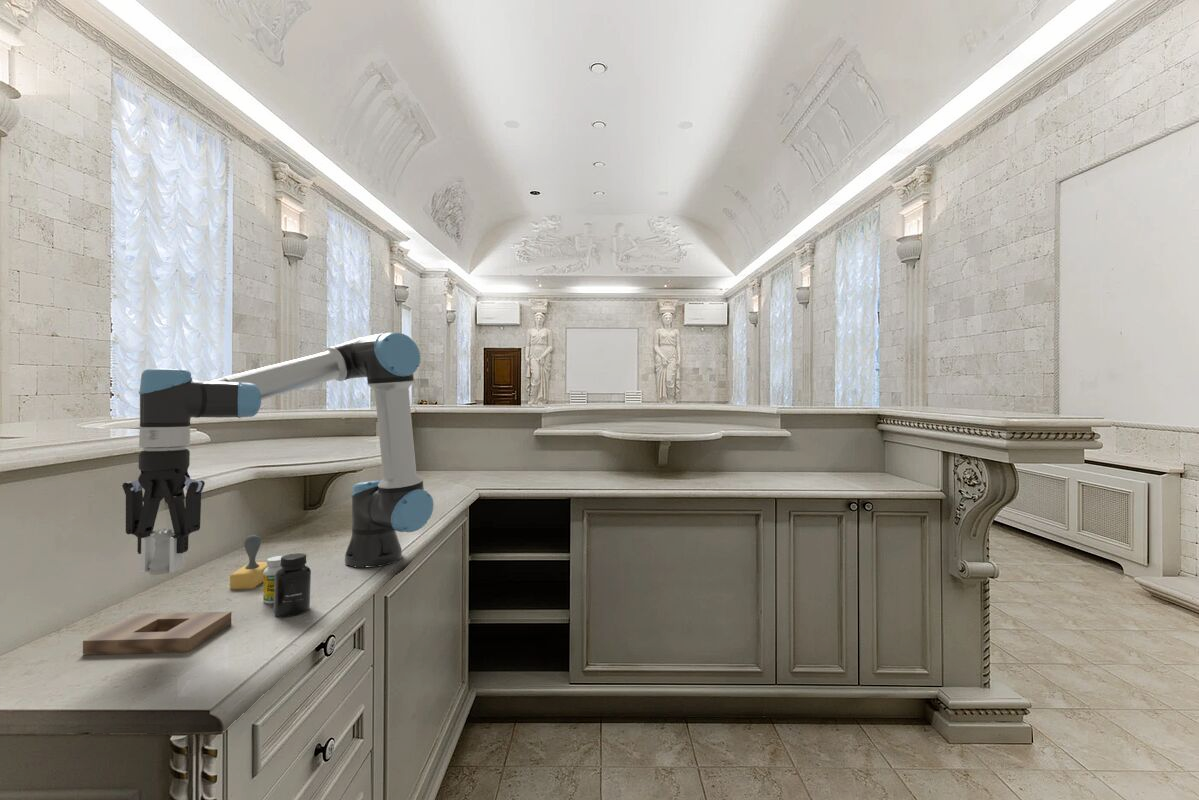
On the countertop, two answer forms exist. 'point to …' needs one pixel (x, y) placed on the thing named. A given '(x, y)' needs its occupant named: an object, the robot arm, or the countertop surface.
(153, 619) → the walnut socket board
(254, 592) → the countertop surface
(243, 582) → the rubber stamp
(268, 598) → the supplement bottle
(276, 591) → the supplement bottle
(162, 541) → the rook chess piece
